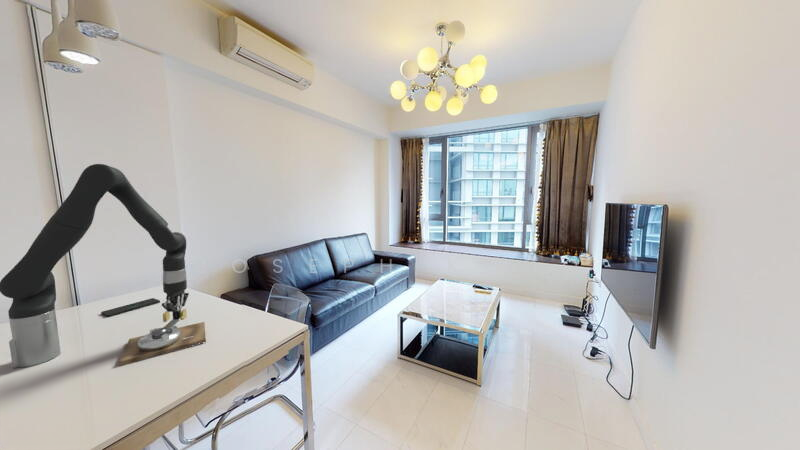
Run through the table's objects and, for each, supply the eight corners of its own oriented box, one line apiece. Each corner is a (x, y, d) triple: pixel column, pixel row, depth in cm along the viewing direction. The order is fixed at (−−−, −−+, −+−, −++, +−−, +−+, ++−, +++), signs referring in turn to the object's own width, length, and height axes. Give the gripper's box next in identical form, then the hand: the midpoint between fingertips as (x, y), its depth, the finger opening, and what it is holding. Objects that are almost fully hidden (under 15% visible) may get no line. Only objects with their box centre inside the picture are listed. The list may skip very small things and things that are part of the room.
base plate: (119, 365, 89) (118, 361, 88) (129, 342, 103) (129, 338, 102) (205, 342, 104) (205, 338, 103) (204, 324, 118) (204, 321, 117)
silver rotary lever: (130, 353, 93) (128, 334, 92) (160, 327, 111) (159, 311, 110) (171, 348, 96) (169, 330, 96) (193, 323, 115) (192, 308, 114)
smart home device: (160, 300, 141) (107, 315, 123) (160, 303, 141) (108, 318, 123) (152, 297, 144) (100, 311, 126) (153, 300, 144) (100, 314, 126)
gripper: (176, 275, 114) (178, 312, 116) (152, 285, 101) (154, 326, 103) (194, 275, 115) (196, 311, 117) (173, 284, 102) (175, 326, 104)
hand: (177, 318), depth 110 cm, fingers closed
